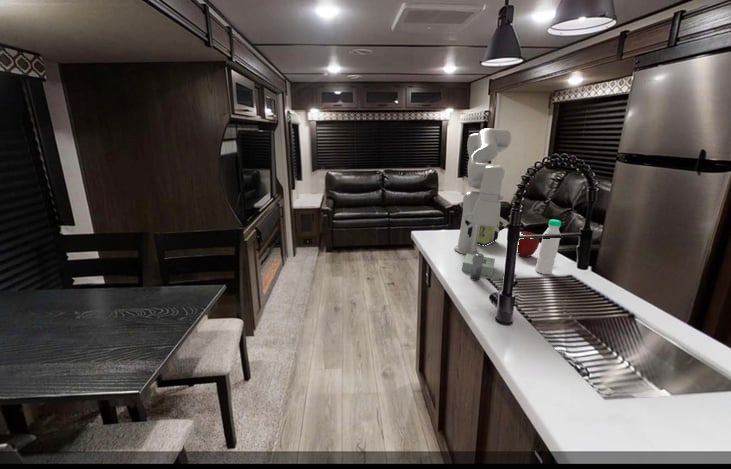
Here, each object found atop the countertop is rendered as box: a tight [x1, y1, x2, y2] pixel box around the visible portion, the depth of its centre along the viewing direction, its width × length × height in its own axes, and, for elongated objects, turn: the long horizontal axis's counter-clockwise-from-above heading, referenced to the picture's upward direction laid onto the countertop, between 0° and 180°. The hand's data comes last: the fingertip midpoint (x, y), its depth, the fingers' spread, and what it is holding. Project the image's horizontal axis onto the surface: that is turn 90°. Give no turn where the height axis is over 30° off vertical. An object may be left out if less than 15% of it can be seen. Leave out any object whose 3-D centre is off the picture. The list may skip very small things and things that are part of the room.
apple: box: [517, 230, 540, 258], centre depth 175 cm, size 12×12×13 cm
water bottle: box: [534, 218, 562, 275], centre depth 153 cm, size 7×7×25 cm
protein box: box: [477, 215, 502, 247], centre depth 194 cm, size 10×16×16 cm
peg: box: [469, 252, 485, 282], centre depth 143 cm, size 4×4×11 cm
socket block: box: [461, 254, 496, 277], centre depth 156 cm, size 13×13×4 cm
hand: (481, 238), depth 139 cm, fingers open, 9 cm apart
